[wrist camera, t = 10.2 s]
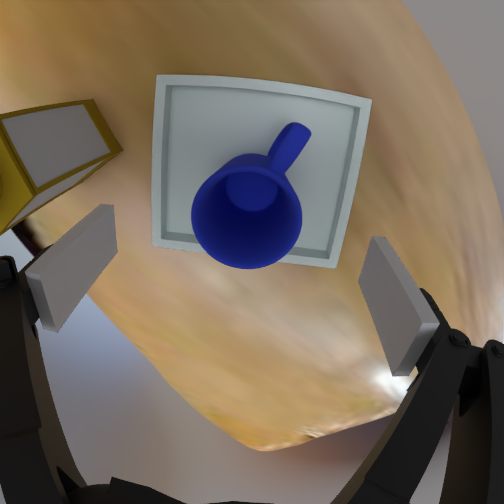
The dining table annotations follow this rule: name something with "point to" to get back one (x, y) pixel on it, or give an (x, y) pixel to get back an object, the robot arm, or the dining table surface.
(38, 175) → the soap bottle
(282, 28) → the dining table surface
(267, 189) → the mug
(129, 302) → the dining table surface
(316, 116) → the tray
